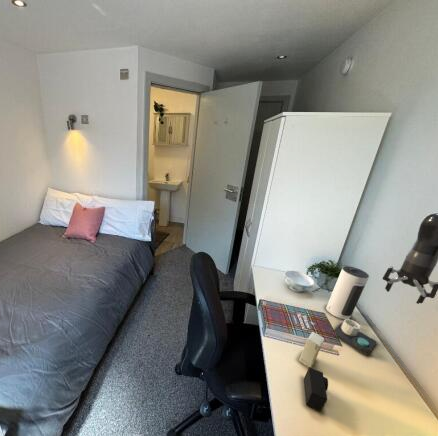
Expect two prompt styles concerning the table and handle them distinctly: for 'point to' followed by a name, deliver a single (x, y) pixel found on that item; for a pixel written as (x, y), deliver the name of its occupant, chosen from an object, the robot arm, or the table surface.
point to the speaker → (347, 292)
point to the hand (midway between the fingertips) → (402, 296)
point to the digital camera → (315, 389)
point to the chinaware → (298, 281)
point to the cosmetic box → (311, 349)
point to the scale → (355, 340)
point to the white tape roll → (350, 327)
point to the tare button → (363, 342)
